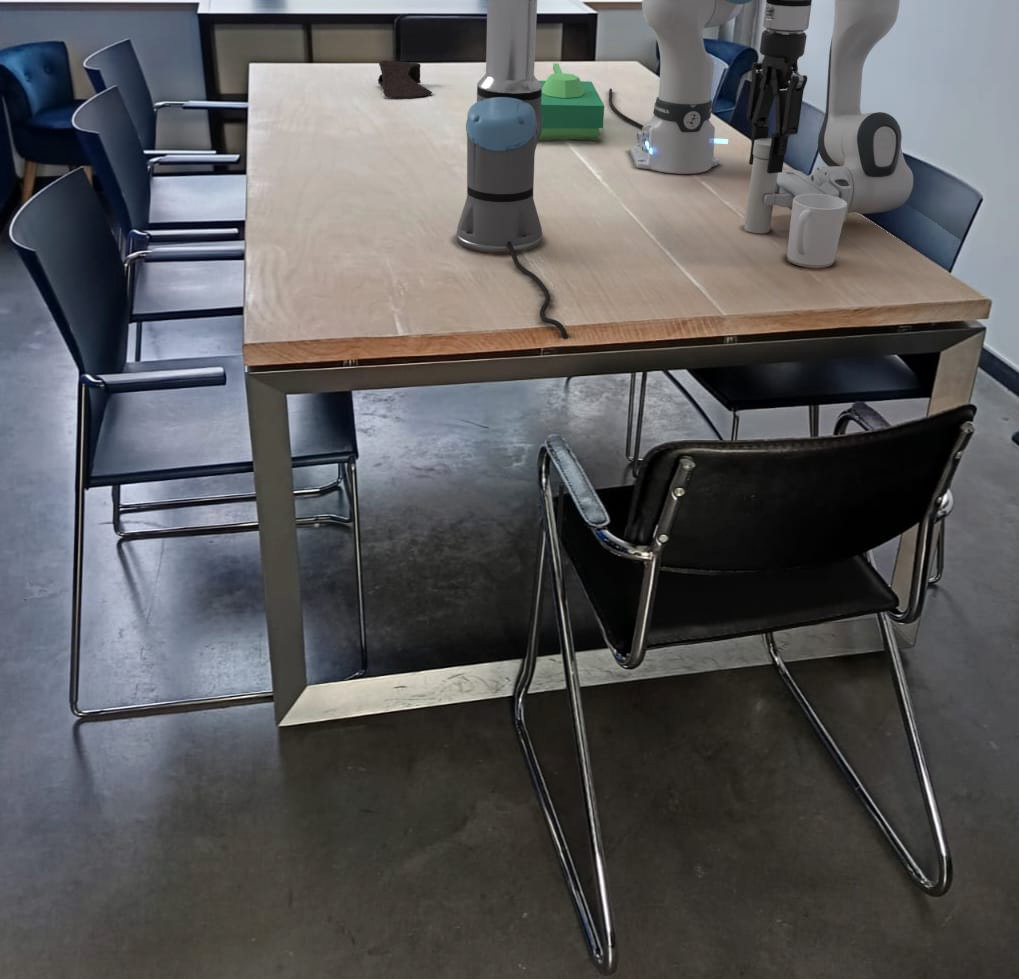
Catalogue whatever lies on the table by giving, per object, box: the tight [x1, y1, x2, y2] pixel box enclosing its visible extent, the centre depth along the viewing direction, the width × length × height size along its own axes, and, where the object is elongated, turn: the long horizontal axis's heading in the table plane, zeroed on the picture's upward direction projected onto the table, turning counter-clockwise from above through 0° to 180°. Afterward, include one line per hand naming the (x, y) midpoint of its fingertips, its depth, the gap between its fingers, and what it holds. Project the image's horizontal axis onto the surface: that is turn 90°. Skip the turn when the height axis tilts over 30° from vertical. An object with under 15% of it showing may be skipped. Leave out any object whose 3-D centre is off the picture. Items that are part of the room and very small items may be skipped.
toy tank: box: [538, 63, 605, 141], centre depth 267 cm, size 18×12×35 cm
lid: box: [753, 137, 772, 159], centre depth 196 cm, size 5×5×2 cm
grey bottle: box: [743, 156, 778, 234], centre depth 200 cm, size 5×5×16 cm
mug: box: [786, 194, 847, 269], centre depth 186 cm, size 11×9×10 cm
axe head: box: [377, 59, 433, 99], centre depth 299 cm, size 18×8×15 cm
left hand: (765, 167), depth 198 cm, fingers closed on lid, 5 cm apart
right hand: (757, 194), depth 200 cm, fingers closed on grey bottle, 5 cm apart
